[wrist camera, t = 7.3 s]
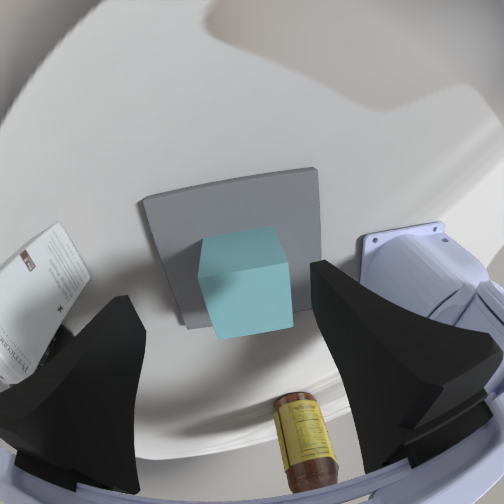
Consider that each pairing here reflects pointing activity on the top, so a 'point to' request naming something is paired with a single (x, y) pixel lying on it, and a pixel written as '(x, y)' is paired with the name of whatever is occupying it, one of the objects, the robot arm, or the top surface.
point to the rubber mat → (236, 229)
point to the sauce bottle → (304, 443)
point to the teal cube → (245, 283)
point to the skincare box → (36, 299)
